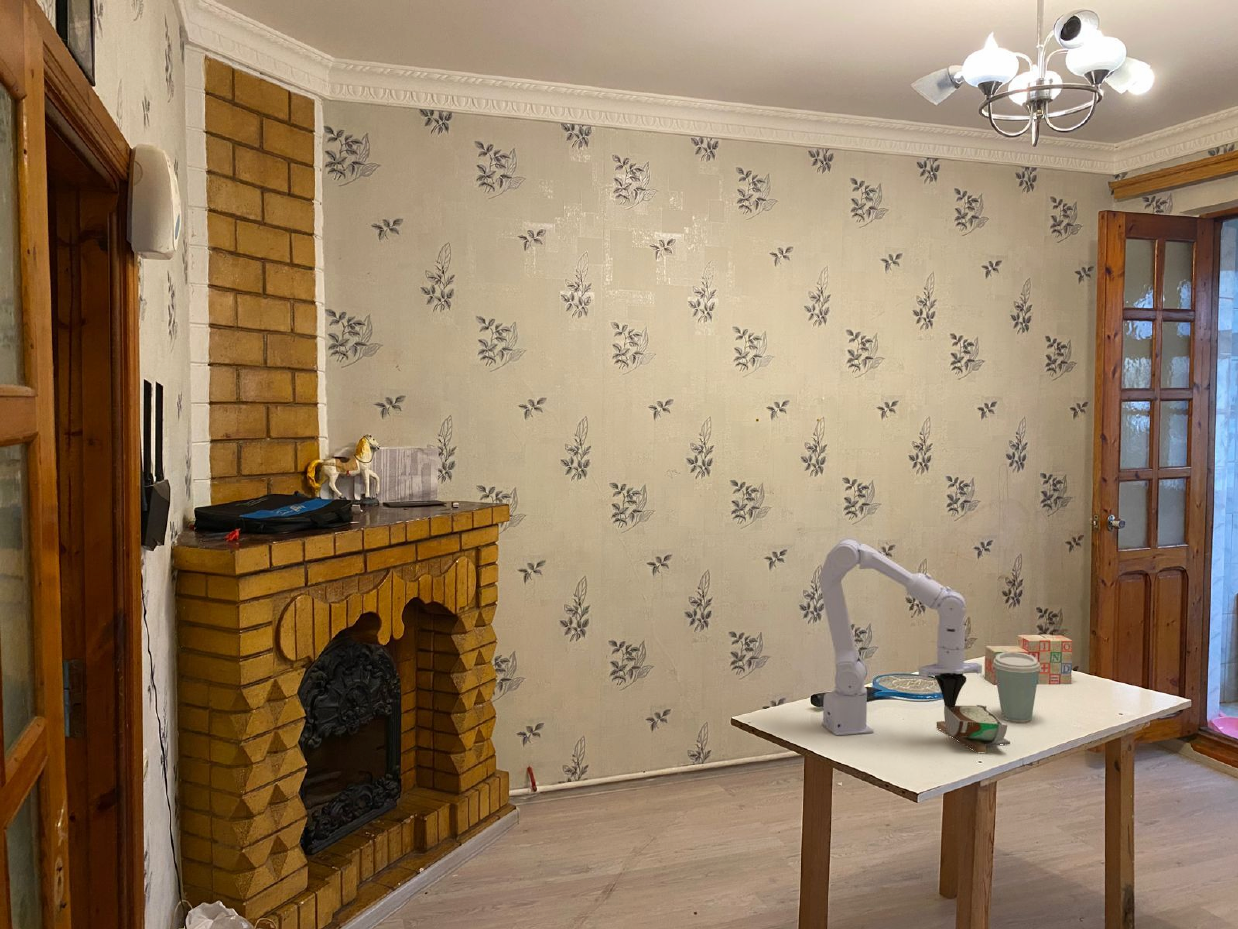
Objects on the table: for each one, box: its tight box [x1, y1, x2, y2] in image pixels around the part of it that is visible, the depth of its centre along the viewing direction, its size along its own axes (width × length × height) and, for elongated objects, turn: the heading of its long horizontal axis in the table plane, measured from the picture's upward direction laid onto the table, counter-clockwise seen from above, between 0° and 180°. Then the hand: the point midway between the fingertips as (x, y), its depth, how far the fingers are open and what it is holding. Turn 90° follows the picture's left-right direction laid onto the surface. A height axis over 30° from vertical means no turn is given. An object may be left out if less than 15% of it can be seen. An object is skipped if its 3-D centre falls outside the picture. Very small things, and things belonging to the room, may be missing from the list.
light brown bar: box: [936, 720, 987, 754], centre depth 206 cm, size 2×16×2 cm, turn 12°
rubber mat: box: [975, 737, 1011, 747], centre depth 208 cm, size 8×12×1 cm, turn 12°
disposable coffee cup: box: [993, 652, 1041, 723], centre depth 219 cm, size 11×11×15 cm
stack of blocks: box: [984, 634, 1074, 686], centre depth 249 cm, size 21×6×12 cm, turn 92°
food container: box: [943, 704, 1008, 744], centre depth 203 cm, size 12×6×10 cm
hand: (949, 706), depth 205 cm, fingers closed
